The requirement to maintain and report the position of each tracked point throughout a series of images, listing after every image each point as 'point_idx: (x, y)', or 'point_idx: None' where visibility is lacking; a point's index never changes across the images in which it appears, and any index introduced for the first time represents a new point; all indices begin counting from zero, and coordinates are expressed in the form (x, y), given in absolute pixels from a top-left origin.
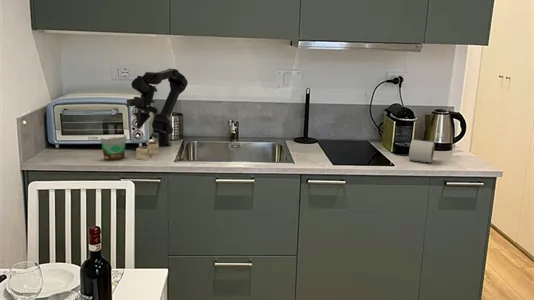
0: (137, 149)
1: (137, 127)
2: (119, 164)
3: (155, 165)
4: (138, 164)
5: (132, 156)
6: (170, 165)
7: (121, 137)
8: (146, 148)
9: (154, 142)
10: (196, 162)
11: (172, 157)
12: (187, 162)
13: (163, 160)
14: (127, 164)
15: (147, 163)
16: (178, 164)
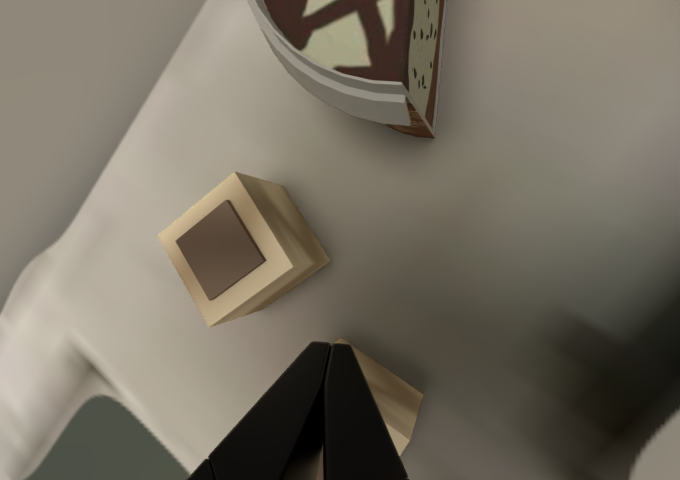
0: (228, 179)
1: (315, 342)
2: (239, 8)
3: (90, 209)
4: (165, 127)
5: (377, 201)
6: (44, 284)
7: (393, 34)
8: (189, 258)
9: (322, 473)
10: (10, 450)
11: (170, 427)
12: (36, 410)
13: (147, 324)
14: (207, 60)
15: (151, 191)
16: (35, 337)
